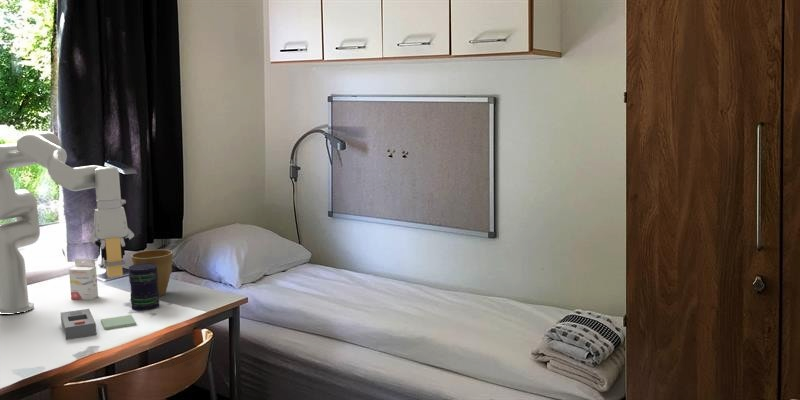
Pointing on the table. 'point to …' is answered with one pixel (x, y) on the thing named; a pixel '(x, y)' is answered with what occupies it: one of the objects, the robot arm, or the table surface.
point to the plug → (113, 258)
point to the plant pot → (163, 265)
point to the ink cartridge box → (83, 280)
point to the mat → (118, 322)
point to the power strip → (78, 324)
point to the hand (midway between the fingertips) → (113, 258)
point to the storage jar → (144, 286)
